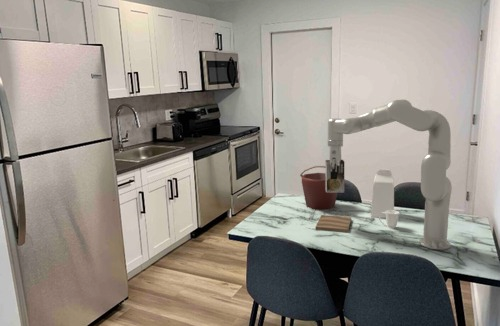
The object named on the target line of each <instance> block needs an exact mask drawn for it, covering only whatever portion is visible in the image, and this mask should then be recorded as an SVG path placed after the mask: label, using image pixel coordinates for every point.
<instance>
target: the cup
mask: <svg viewBox="0 0 500 326" xmlns="http://www.w3.org/2000/svg"><path fill="white" fill-rule="evenodd" d="M382 213H384V214H386V218H385V220H386V224H385V223H384V222H383V220H381V218H380V216H381V214H382ZM382 213H381V214H380V215H379V218H378V221H379V223H381V224H382V225H383V226H384V227H386V228H387V229H390V230H391V229H393V230H394V229H397V225H398V222H399V218H400V212H399V211H398V210H395V209H394V210H387V211H385V212H382Z"/></svg>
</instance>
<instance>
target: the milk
mask: <svg viewBox="0 0 500 326" xmlns="http://www.w3.org/2000/svg"><path fill="white" fill-rule="evenodd" d="M393 177H394V176H393V174H392V172H391V169H389V168H378V169H377V171H376V173H375V176H374V178H373V184H372V185H373V187H372V199H371V200H372V201H371V212H370V213H371V214H370V217H371V218H377V219H379V215H380V214H381V213H382V212H385V211H387V210H395V185H394V183H395V182H394V178H393ZM380 219H386V214H384V213H382V214H381V216H380Z"/></svg>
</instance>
